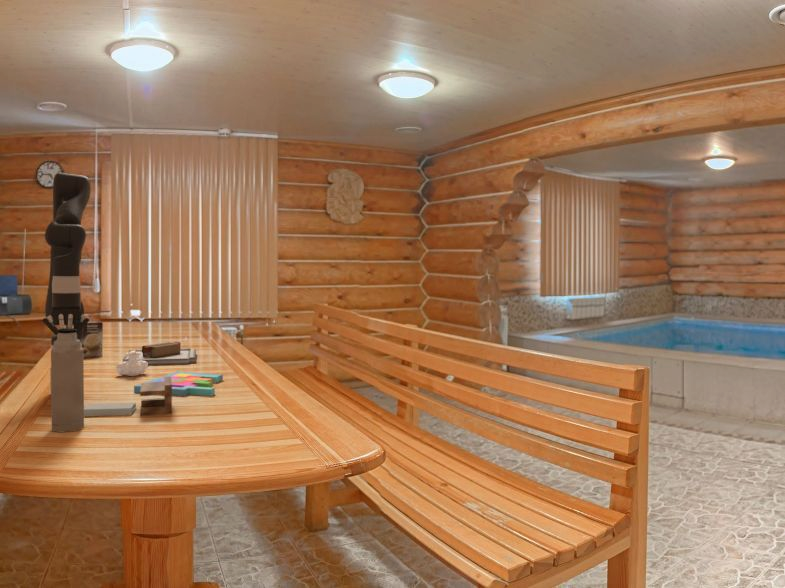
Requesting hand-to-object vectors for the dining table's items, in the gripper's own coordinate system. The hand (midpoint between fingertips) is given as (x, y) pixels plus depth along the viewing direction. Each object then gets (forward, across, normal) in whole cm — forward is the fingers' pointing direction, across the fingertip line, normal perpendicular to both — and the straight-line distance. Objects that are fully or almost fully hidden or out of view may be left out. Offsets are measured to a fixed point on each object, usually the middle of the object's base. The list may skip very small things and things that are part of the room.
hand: (67, 348), depth 181 cm
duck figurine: (+20, +16, +58) cm, 64 cm away
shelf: (+20, +24, 0) cm, 31 cm away
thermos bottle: (+20, +2, -15) cm, 25 cm away
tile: (+21, +11, 0) cm, 24 cm away
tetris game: (+21, +37, +31) cm, 53 cm away
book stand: (+21, +27, +94) cm, 100 cm away
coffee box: (+20, -4, +110) cm, 112 cm away
